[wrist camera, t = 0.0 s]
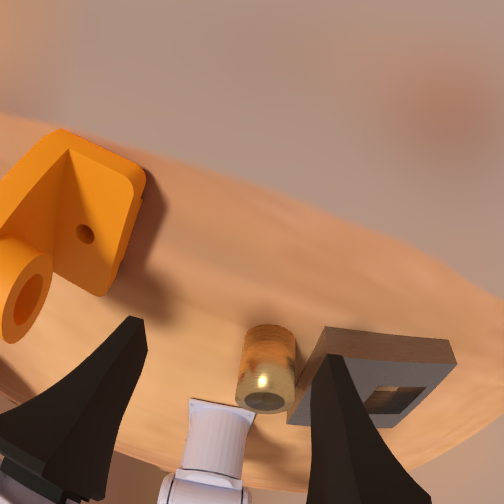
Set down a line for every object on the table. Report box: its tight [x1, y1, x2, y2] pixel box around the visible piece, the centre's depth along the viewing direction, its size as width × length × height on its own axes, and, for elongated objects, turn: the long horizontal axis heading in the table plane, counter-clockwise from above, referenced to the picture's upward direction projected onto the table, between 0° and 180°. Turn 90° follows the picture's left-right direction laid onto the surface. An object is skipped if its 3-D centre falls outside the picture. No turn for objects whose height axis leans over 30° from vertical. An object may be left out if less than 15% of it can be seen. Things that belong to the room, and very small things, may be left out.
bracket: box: [0, 129, 146, 344], centre depth 16 cm, size 11×7×12 cm, turn 152°
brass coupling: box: [235, 325, 295, 414], centre depth 24 cm, size 4×4×6 cm
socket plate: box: [287, 326, 457, 428], centre depth 27 cm, size 13×13×3 cm
